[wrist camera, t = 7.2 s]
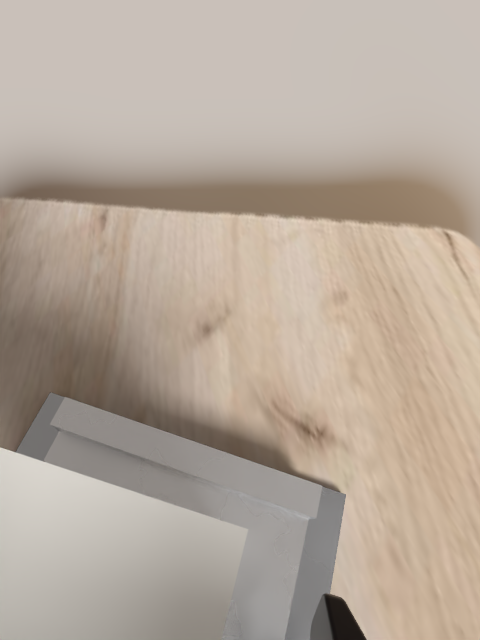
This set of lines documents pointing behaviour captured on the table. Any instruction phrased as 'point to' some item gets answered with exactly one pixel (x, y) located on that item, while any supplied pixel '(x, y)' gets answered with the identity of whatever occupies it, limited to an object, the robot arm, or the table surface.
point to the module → (107, 560)
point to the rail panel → (211, 507)
